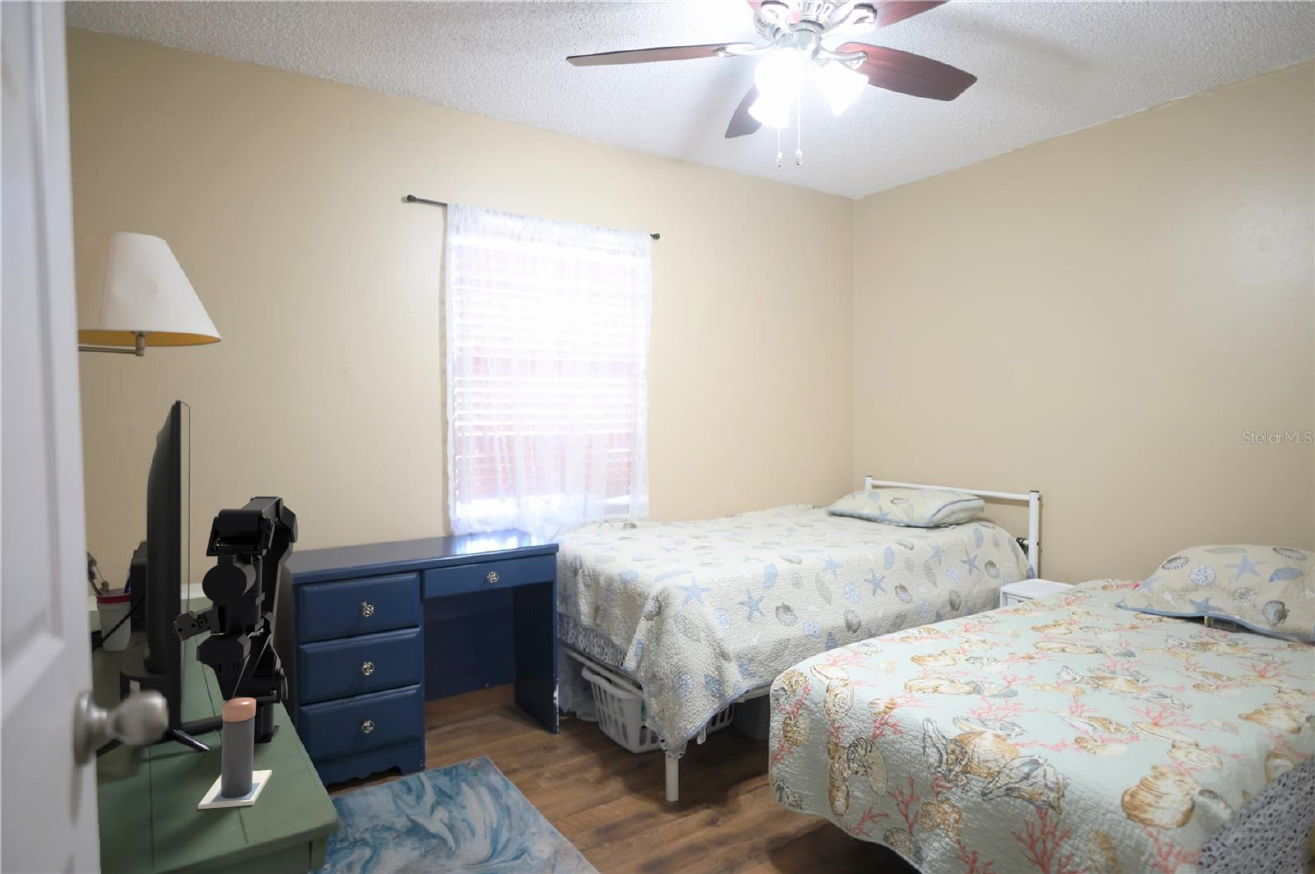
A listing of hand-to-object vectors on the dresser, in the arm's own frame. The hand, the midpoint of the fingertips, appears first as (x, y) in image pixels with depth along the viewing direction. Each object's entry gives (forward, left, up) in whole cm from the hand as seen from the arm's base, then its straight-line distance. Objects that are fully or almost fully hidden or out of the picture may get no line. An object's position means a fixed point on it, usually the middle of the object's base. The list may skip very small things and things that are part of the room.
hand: (237, 690), depth 116 cm
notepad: (+6, +2, -13) cm, 14 cm away
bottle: (+8, +3, -12) cm, 15 cm away
